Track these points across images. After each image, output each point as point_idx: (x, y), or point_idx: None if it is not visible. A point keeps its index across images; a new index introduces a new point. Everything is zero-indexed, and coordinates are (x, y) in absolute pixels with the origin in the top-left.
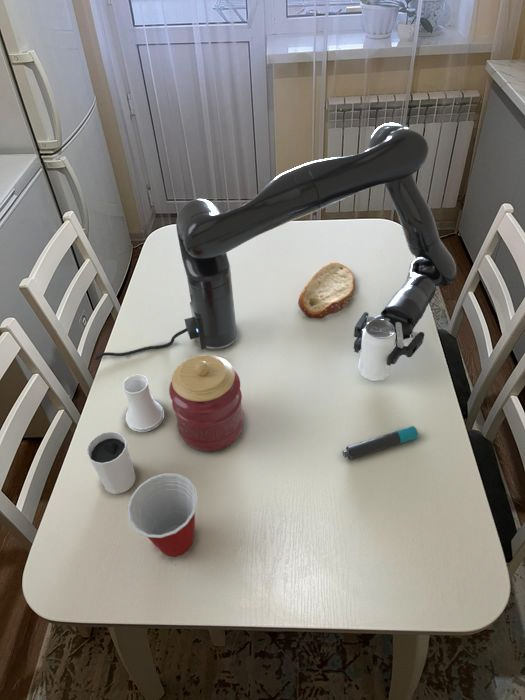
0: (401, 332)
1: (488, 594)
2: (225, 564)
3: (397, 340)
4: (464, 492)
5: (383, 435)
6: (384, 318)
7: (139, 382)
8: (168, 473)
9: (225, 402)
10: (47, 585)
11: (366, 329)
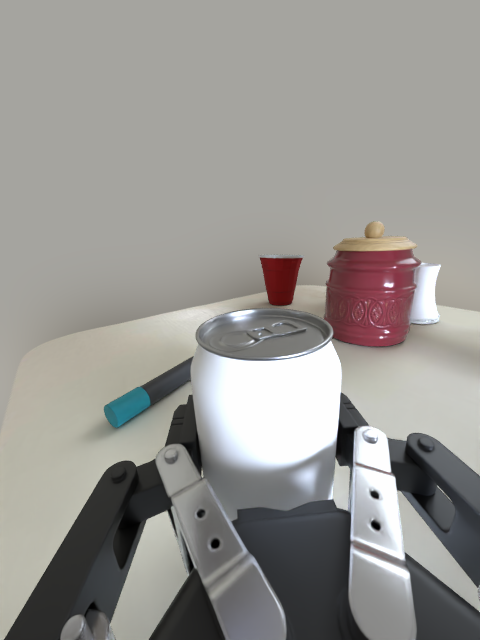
0: (192, 533)
1: (45, 347)
2: (243, 306)
3: (198, 477)
4: (35, 394)
5: (166, 380)
6: (412, 608)
7: (435, 276)
8: (297, 256)
9: (330, 260)
10: (308, 286)
11: (302, 313)
